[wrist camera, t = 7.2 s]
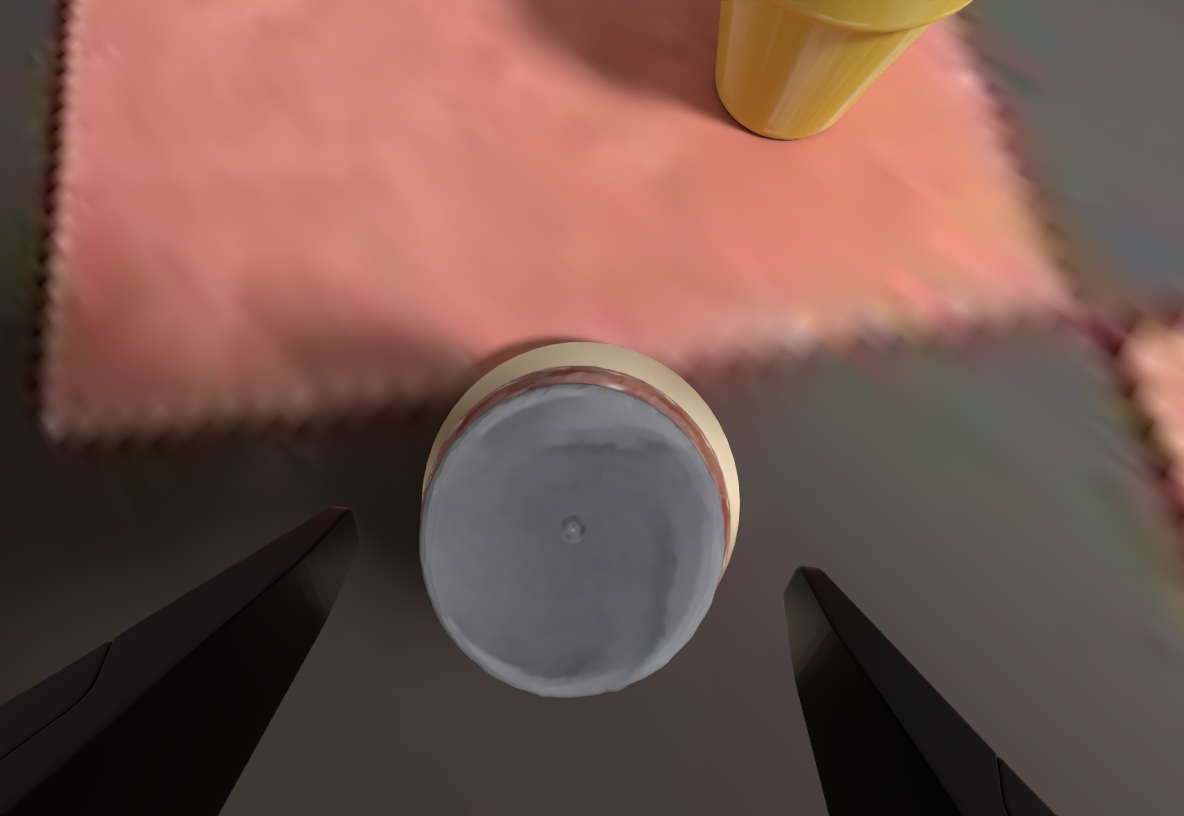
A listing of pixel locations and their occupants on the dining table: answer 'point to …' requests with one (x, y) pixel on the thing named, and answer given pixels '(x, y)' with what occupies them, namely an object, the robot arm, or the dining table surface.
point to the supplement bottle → (574, 531)
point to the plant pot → (811, 57)
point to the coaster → (616, 361)
